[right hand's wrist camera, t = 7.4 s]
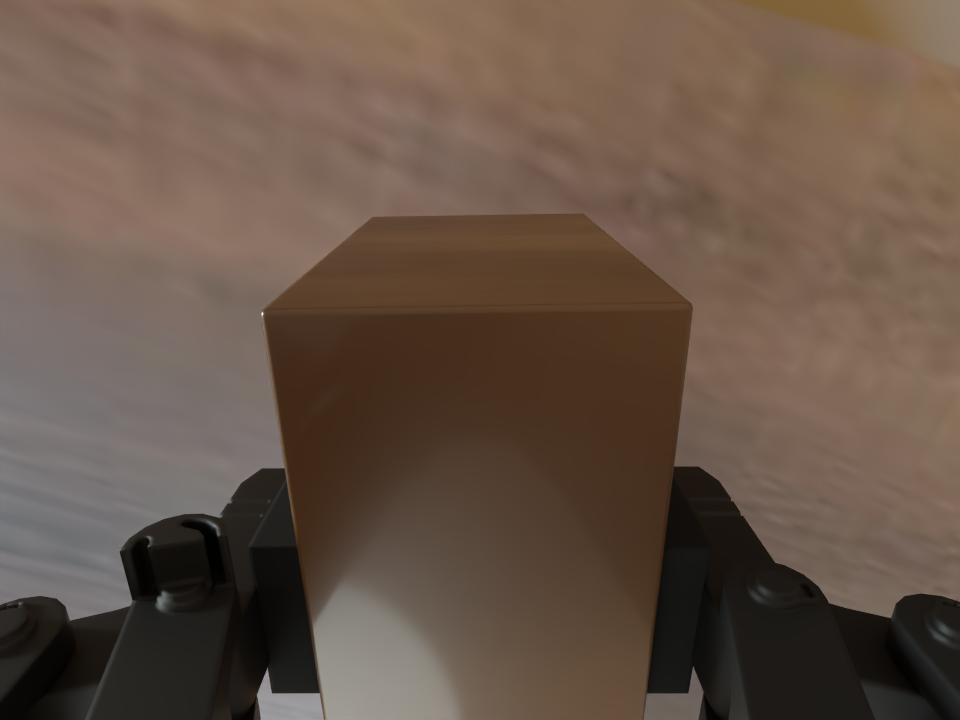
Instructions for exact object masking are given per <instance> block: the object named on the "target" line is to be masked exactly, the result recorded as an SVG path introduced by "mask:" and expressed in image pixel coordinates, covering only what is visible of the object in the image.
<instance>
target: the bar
mask: <svg viewBox="0 0 960 720" xmlns="http://www.w3.org/2000/svg"><path fill="white" fill-rule="evenodd" d="M692 312H693V307H692V304H691V303H690V302H689V301H688V300H686V299H685V298H684V297H683V296H682V295H680V294H679V293H678V292H677V291H675V290H674V289H673V288H672V287H671V286H669V285H668V284H667V283H666V282H665V281H663V280H662V279H661V278H660V277H659V276H657V275H656V274H655V273H654V272H653V271H651V270H650V269H649V268H648V267H647V266H645V265H644V264H643V263H642V262H641V261H639V260H638V259H637V258H636V257H635V256H633V255H632V254H631V253H630V252H629V251H627V250H626V249H625V248H624V247H623V246H621V245H620V244H619V243H618V242H617V241H615V240H614V239H613V238H612V237H610V236H609V235H608V234H607V233H606V232H604V231H603V230H602V229H601V228H600V227H598V226H597V225H596V224H595V223H594V222H592V221H591V220H590V219H589V218H588V217H586V216H585V215H584V214H532V215H468V216H405V217H372V218H371V219H369V220H368V221H367V222H366V223H365V224H364V225H362V226H361V227H360V228H359V229H358V230H356V231H355V232H354V233H353V234H352V235H351V236H349V237H348V238H347V239H346V240H345V241H343V242H342V243H341V244H340V245H339V246H338V247H336V248H335V249H334V250H333V251H332V252H330V253H329V254H328V255H327V256H326V257H325V258H323V259H322V260H321V261H320V262H319V263H317V264H316V265H315V266H314V267H313V268H311V269H310V270H309V271H308V272H307V273H306V274H304V275H303V276H302V277H301V278H300V279H298V280H297V281H296V282H295V283H294V284H293V285H291V286H290V287H289V288H288V289H287V290H285V291H284V292H283V293H282V294H281V295H280V296H278V297H277V298H276V299H275V300H274V301H272V302H271V303H270V304H269V305H268V306H267V307H265V308H264V309H263V310H262V313H261V320H262V326H263V332H264V339H265V345H266V352H267V358H268V364H269V371H270V377H271V384H272V390H273V396H274V403H275V409H276V416H277V422H278V428H279V435H280V441H281V448H282V454H283V460H284V467H285V473H286V480H287V486H288V492H289V499H290V505H291V512H292V518H293V524H294V531H295V537H296V544H297V550H298V556H299V563H300V569H301V576H302V582H303V588H304V595H305V601H306V608H307V614H308V620H309V627H310V633H311V640H312V646H313V652H314V659H315V665H316V672H317V678H318V684H319V691H320V697H321V703H322V710H323V716H324V720H644V712H645V703H646V695H647V687H648V678H649V670H650V662H651V653H652V645H653V637H654V628H655V620H656V612H657V603H658V595H659V587H660V578H661V570H662V562H663V553H664V545H665V537H666V529H667V520H668V512H669V504H670V495H671V487H672V479H673V470H674V462H675V454H676V445H677V437H678V429H679V420H680V412H681V404H682V395H683V387H684V379H685V370H686V362H687V354H688V345H689V337H690V329H691V320H692Z"/></svg>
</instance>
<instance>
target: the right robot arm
mask: <svg viewBox="0 0 960 720" xmlns="http://www.w3.org/2000/svg"><path fill="white" fill-rule="evenodd" d="M120 555H121V558H122V562H123V566H124V570H125V574H126V577H127V581H128V585H129V589H130V592H131V596H132V600H133V601H132V604H131V606H129V607H125V608H122V609H119V610H115V611H111V612H107V613H102V614H98V615H93V616H89V617H84V618H80V619H76V620H71V621H70V620H69V617H68V613H67V610H66V607H65V606H64V605H63V604H62V603H61V602H60V601H58V600H57V599H55V598H49V597H43V596H37V597H30V598H22V599H17V600H14V601H11V602H8V603H5V604H2V605H0V720H260V719H261V718H260V711H259V704H258V699H257V693H258V690H259V688H260V685H261V683H262V680H263V678H264V675H265V673H266V670H267V668H268V672H269V678H270V684H271V690H272V693H320V691H319V684H318V678H317V672H316V665H315V659H314V652H313V646H312V640H311V633H310V627H309V620H308V614H307V608H306V601H305V595H304V588H303V582H302V576H301V569H300V563H299V556H298V550H297V544H296V537H295V531H294V524H293V518H292V512H291V505H290V499H289V492H288V486H287V480H286V473H285V469H261V470H259V471H258V472H256V473H255V474H254V475H252V476H251V477H249V478H248V479H247V480H245V481H244V482H242V483H241V485H240V486H239V488H238V489H237V491H236V492H235V493H234V495H233V496H232V498H231V499H230V503H228V504H227V505H226V507H225V508H224V510H223V511H222V513H221V514H220V518H217V517H213V516H209V515H205V514H184V515H180V516H175V517H171V518H167V519H163V520H161V521H159V522H157V523H154V524H152V525H150V526H147V527H145V528H144V529H142V530H141V531H139V532H138V533H137V534H135V535H134V536H132V537H131V538H129V540H128V541H127V542H126V543H125V545H124V546H123V547H122V549H121V550H120ZM693 666H694V669H695V671H696V674H697V676H698V679H699V681H700V684H701V686H702V689H703V691H704V693H703V699H702V704H701V710H700V715H699V720H960V602H958V601H955V600H952V599H949V598H946V597H942V596H935V595H928V594H916V595H909V596H905V597H903V598H902V599H901V600H900V601H899V602H898V603H896V605H895V609H894V612H893V615H892V618H887V617H883V616H878V615H874V614H869V613H865V612H860V611H856V610H852V609H847V608H843V607H840V606H837V605H833V604H830V603H828V600H827V599H826V597H825V596H824V594H823V593H822V591H821V590H820V588H819V587H818V586H817V585H816V584H815V583H813V582H812V581H811V580H810V579H808V578H807V577H806V576H805V575H803V574H801V573H799V572H797V571H795V570H793V569H791V568H789V567H787V566H785V565H781V564H777V563H775V562H774V561H773V559H772V558H771V556H770V555H769V553H768V552H767V550H766V549H765V547H764V546H763V544H762V543H761V542H760V540H759V539H758V537H757V536H756V534H755V533H754V531H753V530H752V528H751V527H750V526H749V524H748V523H747V521H746V520H745V518H744V517H743V516H741V515H740V511H739V509H738V508H737V507H736V505H735V504H734V502H733V501H731V498H730V496H729V495H728V493H727V492H726V491H725V489H724V488H723V486H722V485H721V483H720V482H719V481H718V480H717V479H715V478H714V477H712V476H711V475H710V474H708V473H707V472H705V471H704V470H703V469H701V468H700V467H674V470H673V479H672V487H671V495H670V504H669V512H668V520H667V529H666V537H665V545H664V553H663V562H662V570H661V578H660V587H659V595H658V603H657V612H656V620H655V628H654V637H653V645H652V653H651V662H650V670H649V678H648V687H647V693H688V692H689V686H690V680H691V674H692V668H693Z"/></svg>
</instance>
